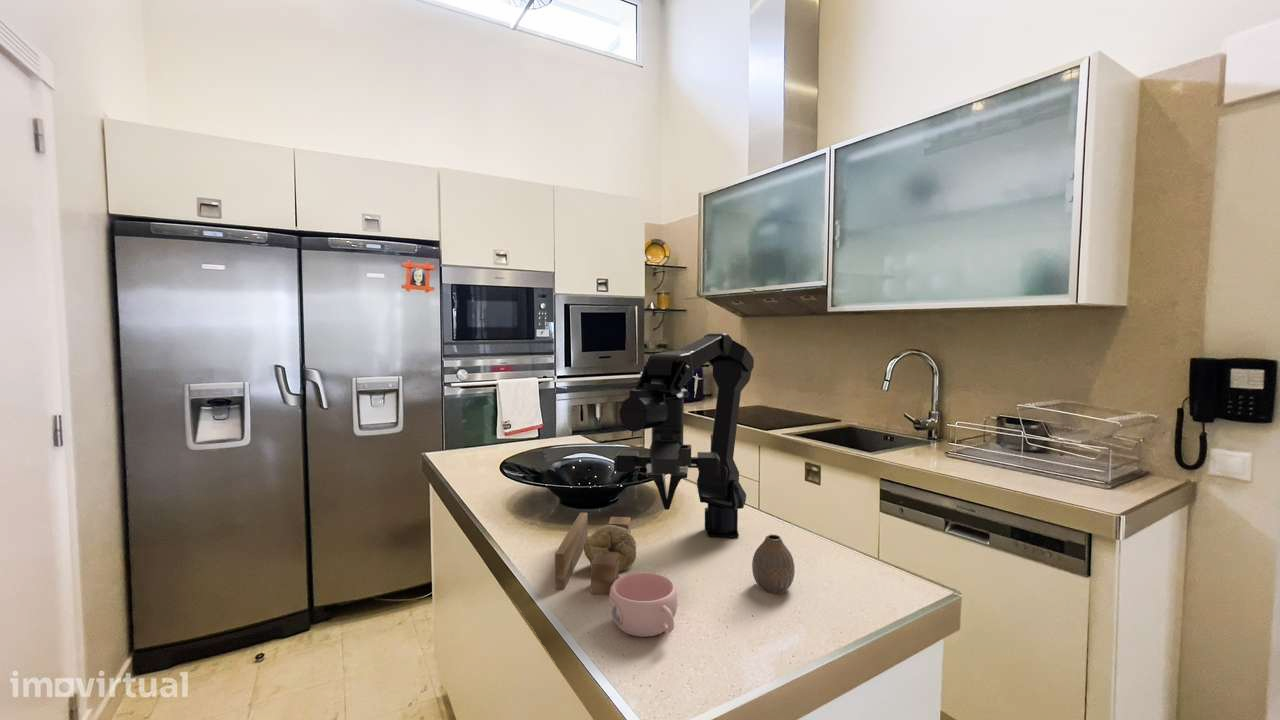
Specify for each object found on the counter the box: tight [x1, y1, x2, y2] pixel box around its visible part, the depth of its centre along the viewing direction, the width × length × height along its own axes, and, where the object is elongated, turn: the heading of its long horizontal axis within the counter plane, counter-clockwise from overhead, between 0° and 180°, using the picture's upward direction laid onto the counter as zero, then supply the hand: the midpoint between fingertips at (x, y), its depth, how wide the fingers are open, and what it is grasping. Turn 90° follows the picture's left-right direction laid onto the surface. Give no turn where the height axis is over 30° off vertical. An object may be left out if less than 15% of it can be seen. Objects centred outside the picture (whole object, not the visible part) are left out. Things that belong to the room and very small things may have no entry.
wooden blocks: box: [554, 512, 632, 596], centre depth 96 cm, size 10×22×6 cm, turn 174°
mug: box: [608, 571, 679, 638], centre depth 75 cm, size 12×10×6 cm
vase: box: [751, 534, 796, 595], centre depth 87 cm, size 7×7×9 cm
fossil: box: [583, 524, 637, 572], centre depth 96 cm, size 9×4×10 cm
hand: (666, 509), depth 95 cm, fingers closed
